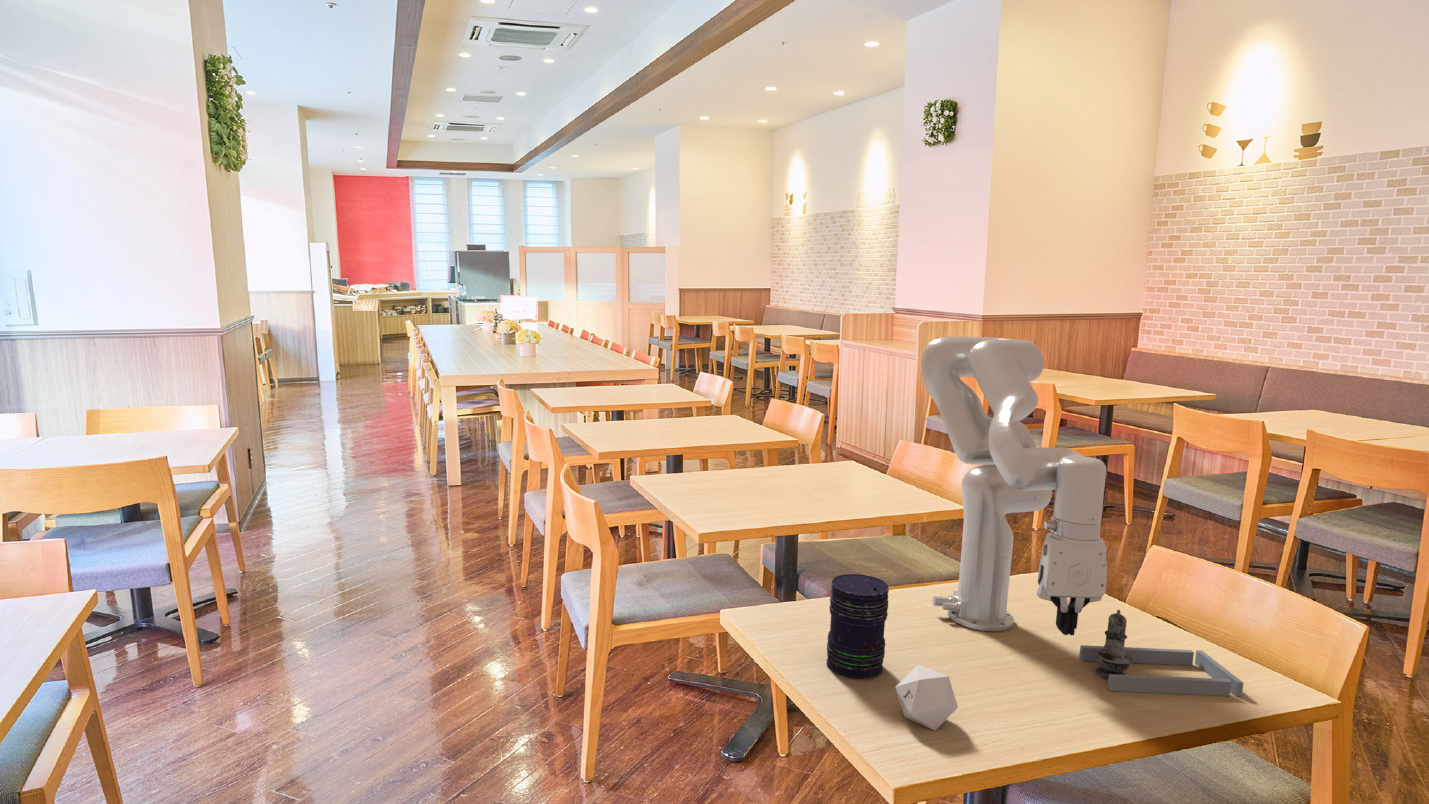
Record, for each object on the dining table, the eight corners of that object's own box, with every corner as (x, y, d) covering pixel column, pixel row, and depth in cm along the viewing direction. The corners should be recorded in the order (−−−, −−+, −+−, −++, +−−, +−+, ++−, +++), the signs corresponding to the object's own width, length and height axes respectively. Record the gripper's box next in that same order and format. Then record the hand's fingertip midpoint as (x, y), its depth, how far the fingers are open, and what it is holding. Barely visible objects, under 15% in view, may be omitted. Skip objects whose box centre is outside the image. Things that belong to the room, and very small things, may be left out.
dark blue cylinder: (814, 665, 142) (819, 583, 140) (846, 648, 149) (851, 569, 147) (863, 686, 136) (869, 600, 133) (894, 667, 143) (900, 585, 140)
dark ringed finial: (1127, 670, 145) (1135, 606, 143) (1132, 685, 140) (1140, 618, 138) (1090, 664, 147) (1098, 600, 145) (1094, 679, 141) (1102, 612, 140)
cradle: (1110, 690, 137) (1111, 676, 137) (1079, 658, 149) (1080, 645, 149) (1241, 696, 137) (1243, 682, 137) (1200, 663, 149) (1201, 650, 149)
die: (897, 705, 131) (881, 671, 126) (945, 680, 131) (931, 646, 126) (921, 748, 124) (905, 715, 119) (971, 722, 124) (958, 688, 119)
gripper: (1040, 533, 136) (1030, 639, 138) (1130, 537, 136) (1119, 643, 138) (1023, 521, 143) (1014, 621, 146) (1109, 524, 143) (1098, 625, 146)
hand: (1065, 631), depth 142 cm, fingers closed
